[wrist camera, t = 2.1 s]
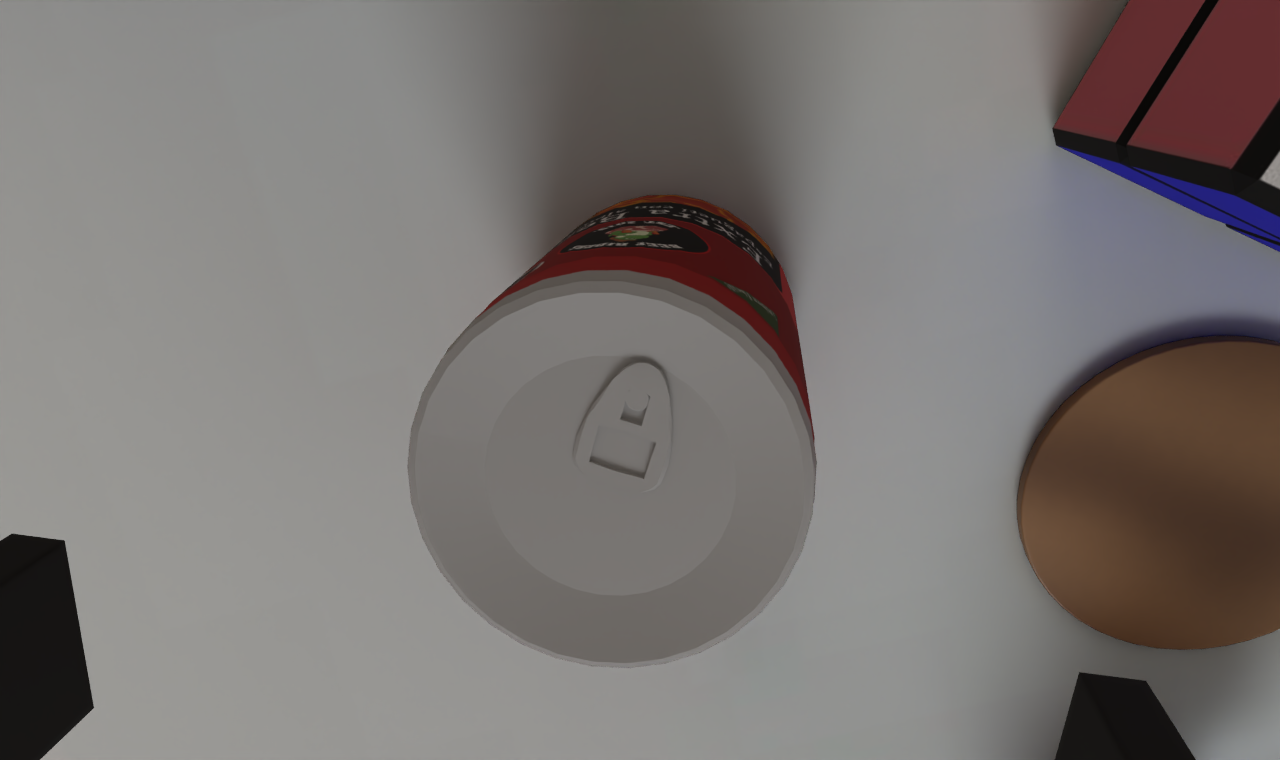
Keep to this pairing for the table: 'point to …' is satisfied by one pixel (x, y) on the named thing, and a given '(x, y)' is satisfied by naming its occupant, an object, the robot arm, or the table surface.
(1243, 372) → the coaster
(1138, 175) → the puzzle cube
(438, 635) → the table surface
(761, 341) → the canned food
